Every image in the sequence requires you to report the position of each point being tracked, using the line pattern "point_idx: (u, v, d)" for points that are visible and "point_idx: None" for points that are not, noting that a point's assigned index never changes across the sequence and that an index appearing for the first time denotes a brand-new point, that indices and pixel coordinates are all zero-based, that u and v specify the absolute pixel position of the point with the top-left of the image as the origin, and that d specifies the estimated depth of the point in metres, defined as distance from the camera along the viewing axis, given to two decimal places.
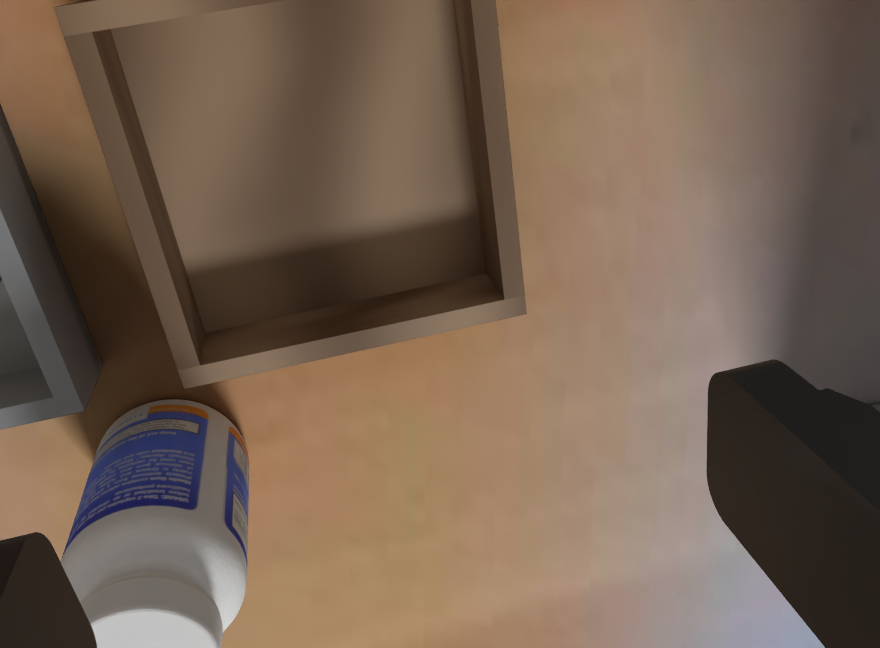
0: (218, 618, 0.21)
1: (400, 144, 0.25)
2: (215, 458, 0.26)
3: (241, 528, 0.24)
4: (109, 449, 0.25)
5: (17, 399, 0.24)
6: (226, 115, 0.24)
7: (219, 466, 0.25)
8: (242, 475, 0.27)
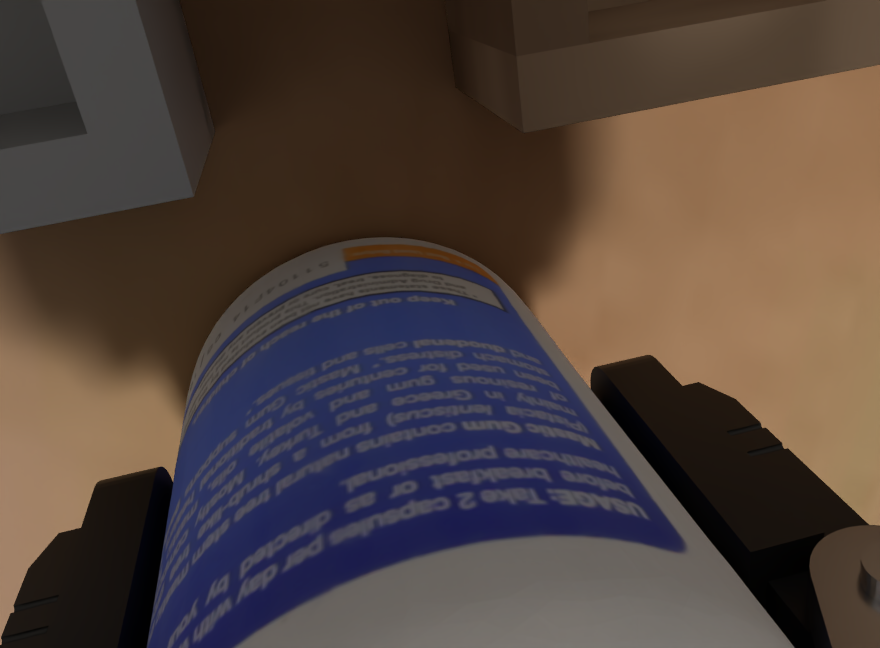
0: None
1: None
2: (577, 378, 0.08)
3: None
4: (253, 350, 0.08)
5: None
6: None
7: (598, 401, 0.08)
8: None
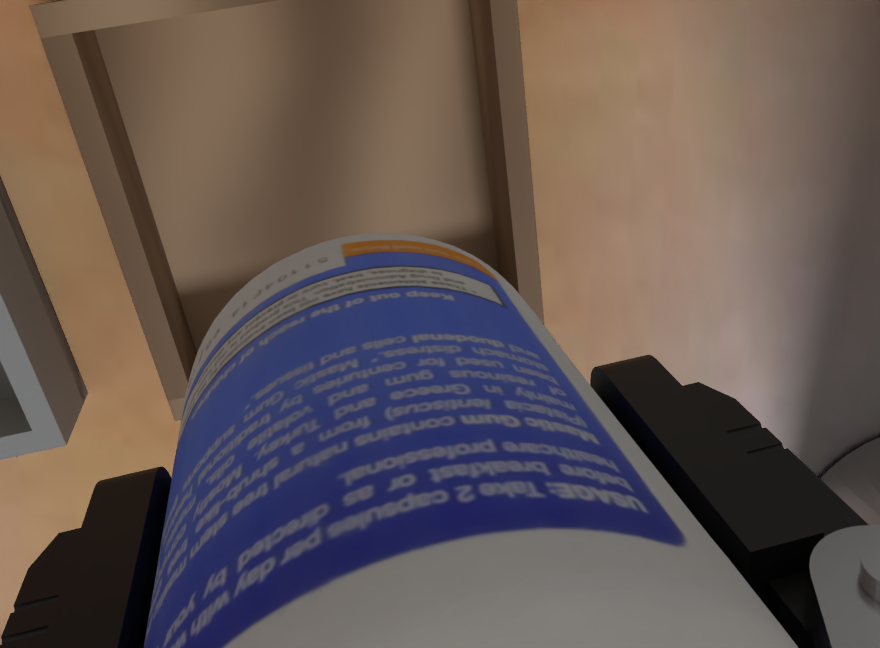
0: None
1: (410, 155, 0.23)
2: (576, 374, 0.08)
3: None
4: (252, 346, 0.08)
5: None
6: (221, 124, 0.22)
7: (597, 397, 0.08)
8: None
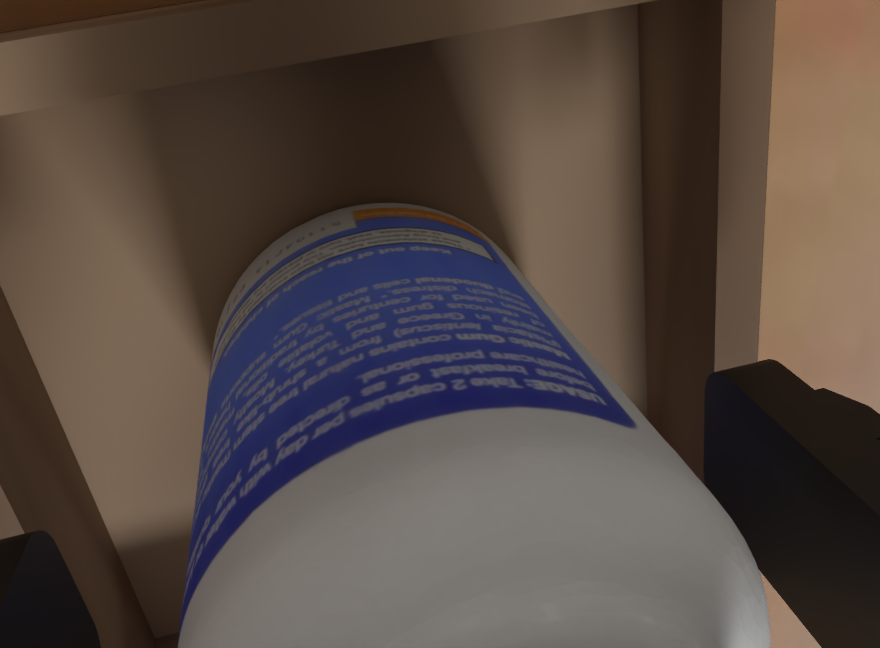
0: None
1: None
2: (557, 317, 0.10)
3: None
4: (276, 292, 0.10)
5: None
6: (184, 276, 0.12)
7: (574, 336, 0.09)
8: None
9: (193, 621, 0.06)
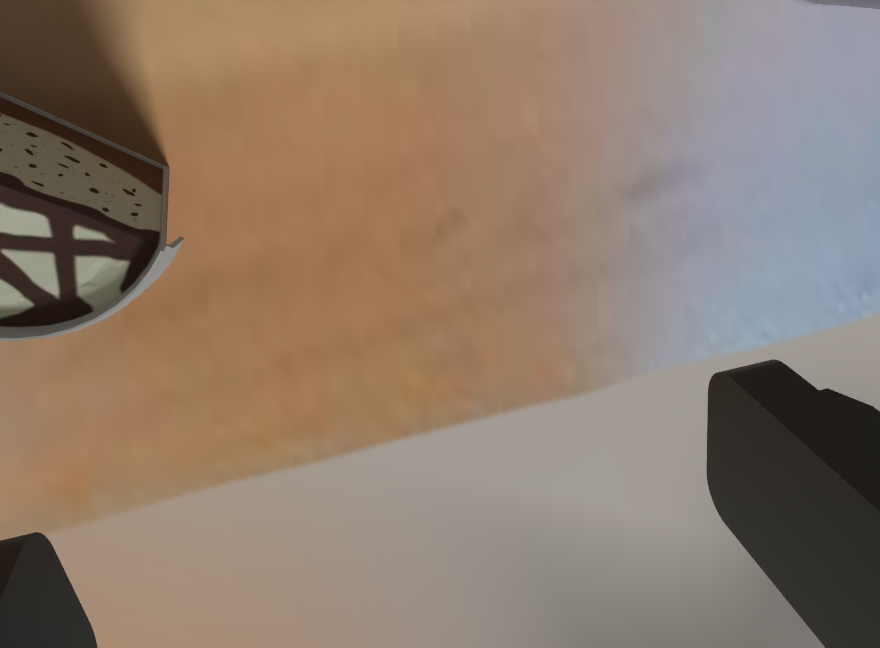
0: None
1: None
2: None
3: None
4: None
5: None
6: None
7: None
8: None
9: None
